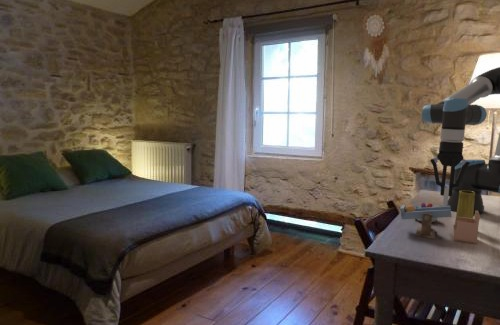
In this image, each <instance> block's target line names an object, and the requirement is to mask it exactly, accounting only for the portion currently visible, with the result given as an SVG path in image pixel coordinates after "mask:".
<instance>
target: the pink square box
mask: <svg viewBox="0 0 500 325" xmlns="http://www.w3.org/2000/svg"><path fill="white" fill-rule="evenodd" d="M480 216H481V215H480V214H479V212H478V211H476V210H475V214H474V217H473V218H465V217H458V216H456V215H455V220H456V225H455V224H453V226H452V227H453V229H452V241H454V242H460V243H466V244H474V245H477V242H478V233H479V225H480Z"/></svg>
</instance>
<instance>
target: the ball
mask: <svg viewBox="0 0 500 325" xmlns="http://www.w3.org/2000/svg"><path fill="white" fill-rule="evenodd" d="M405 206H406V208H405V211H406V212H413V211H415V206H413V205H411V204H408V205H405Z"/></svg>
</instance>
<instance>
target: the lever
mask: <svg viewBox="0 0 500 325" xmlns="http://www.w3.org/2000/svg"><path fill="white" fill-rule="evenodd" d="M406 206H407V205H406V204H402V205H401V207H399V209H400V216H401V220H417V219H420V218H422V217H423V213H428V214H432V218H437V219H438V218H439V219H440V218H452V210H451V207H450V205H439V206H432V207H426V208H421V207H419V208H415V207H414V208H415V211H413V212H406V211H405V208H406Z"/></svg>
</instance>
